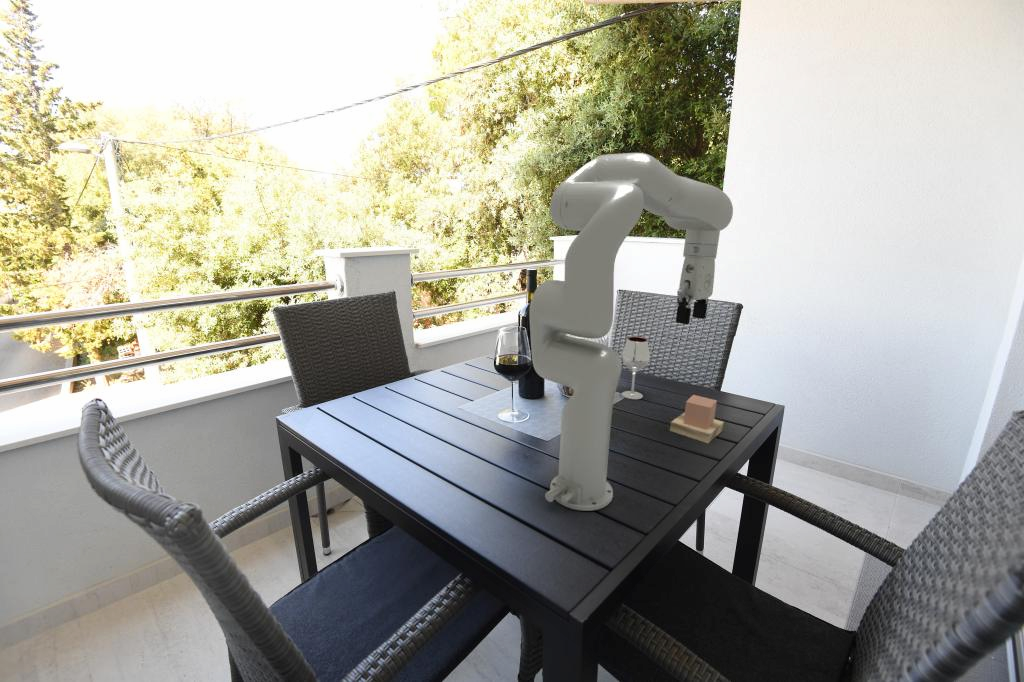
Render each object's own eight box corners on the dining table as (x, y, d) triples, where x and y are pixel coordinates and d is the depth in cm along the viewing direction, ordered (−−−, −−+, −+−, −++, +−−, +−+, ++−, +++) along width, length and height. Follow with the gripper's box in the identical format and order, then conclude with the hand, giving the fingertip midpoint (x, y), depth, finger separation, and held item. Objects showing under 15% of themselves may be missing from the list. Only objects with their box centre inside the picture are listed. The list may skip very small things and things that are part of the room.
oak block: (707, 445, 120) (709, 434, 119) (669, 432, 126) (670, 421, 126) (722, 432, 127) (723, 421, 126) (685, 420, 134) (686, 410, 133)
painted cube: (707, 429, 122) (710, 407, 120) (683, 423, 125) (686, 401, 123) (713, 421, 126) (716, 400, 125) (690, 415, 130) (693, 394, 128)
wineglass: (648, 401, 145) (654, 343, 140) (621, 400, 145) (626, 342, 140) (642, 391, 153) (647, 336, 148) (616, 390, 153) (621, 335, 148)
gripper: (700, 254, 108) (690, 328, 112) (729, 251, 120) (719, 318, 124) (669, 251, 113) (660, 322, 117) (699, 249, 125) (690, 313, 129)
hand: (690, 320), depth 121 cm, fingers open, 9 cm apart
